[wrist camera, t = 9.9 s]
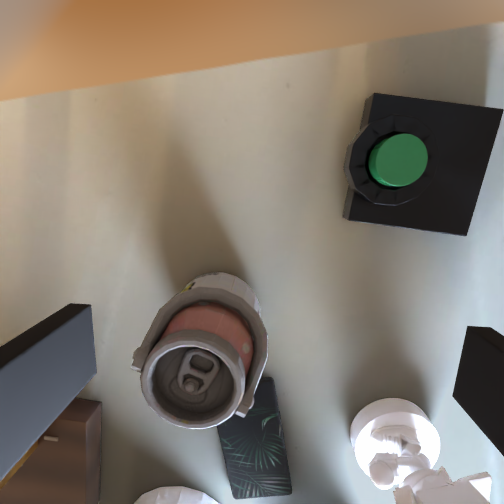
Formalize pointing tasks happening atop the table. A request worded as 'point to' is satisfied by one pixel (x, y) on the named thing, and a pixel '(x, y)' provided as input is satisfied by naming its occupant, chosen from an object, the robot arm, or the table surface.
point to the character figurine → (409, 456)
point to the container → (175, 496)
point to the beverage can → (204, 353)
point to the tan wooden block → (18, 465)
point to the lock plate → (62, 461)
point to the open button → (398, 160)
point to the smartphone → (256, 448)
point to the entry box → (437, 169)
